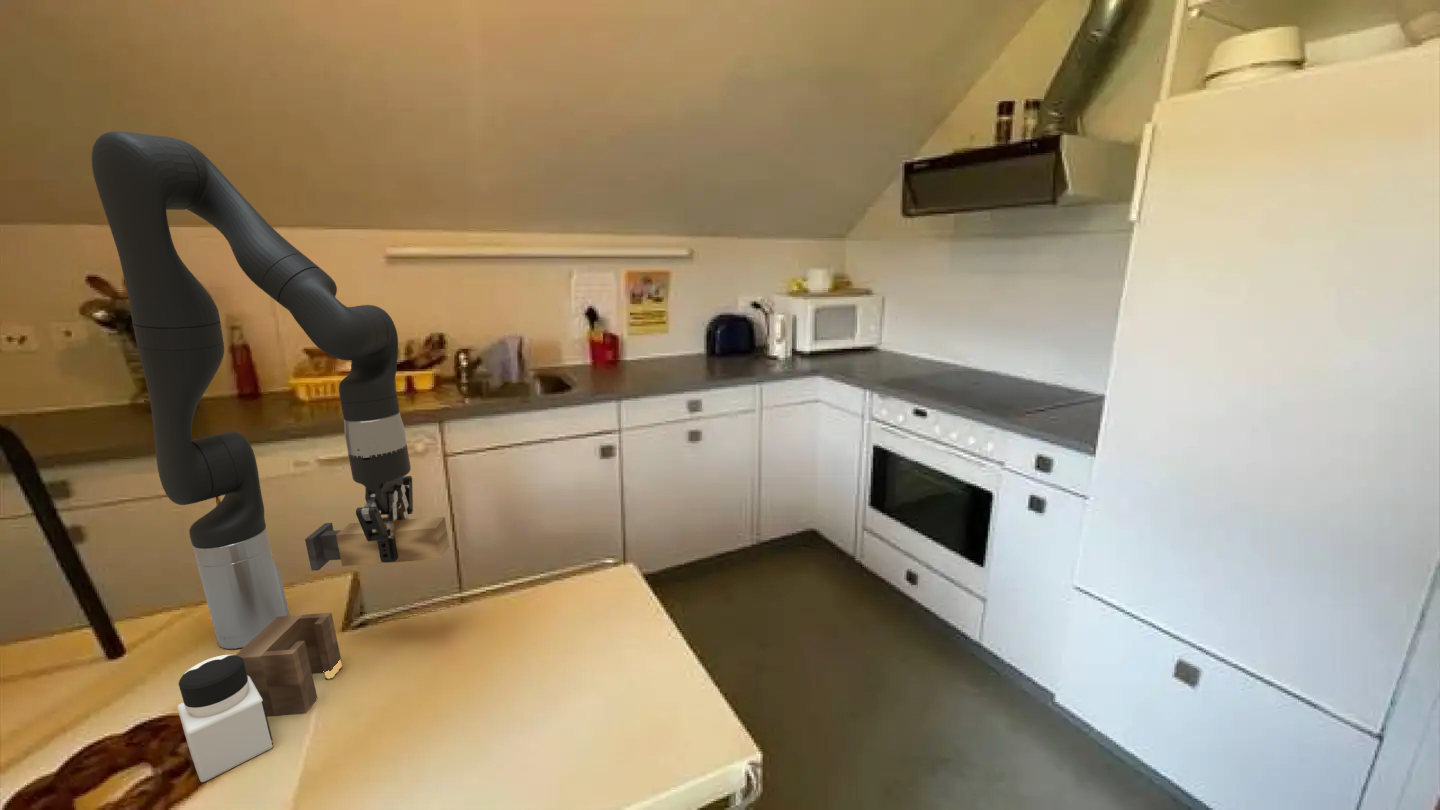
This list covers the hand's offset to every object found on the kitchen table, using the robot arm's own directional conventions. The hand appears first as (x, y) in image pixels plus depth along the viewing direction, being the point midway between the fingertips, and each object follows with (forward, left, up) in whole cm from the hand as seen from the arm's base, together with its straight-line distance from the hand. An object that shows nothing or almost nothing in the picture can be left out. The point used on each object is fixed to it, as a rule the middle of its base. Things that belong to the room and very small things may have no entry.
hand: (396, 553), depth 92 cm
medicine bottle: (+20, -13, -15) cm, 29 cm away
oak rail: (0, -2, -1) cm, 2 cm away
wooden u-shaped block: (+10, -12, -15) cm, 22 cm away
